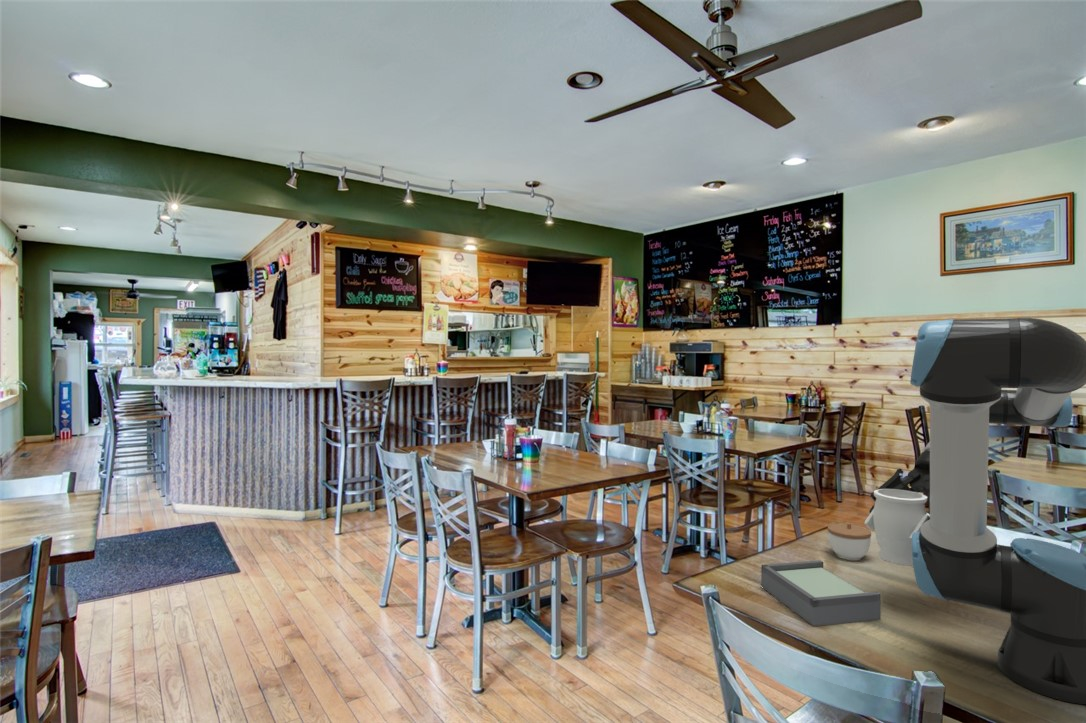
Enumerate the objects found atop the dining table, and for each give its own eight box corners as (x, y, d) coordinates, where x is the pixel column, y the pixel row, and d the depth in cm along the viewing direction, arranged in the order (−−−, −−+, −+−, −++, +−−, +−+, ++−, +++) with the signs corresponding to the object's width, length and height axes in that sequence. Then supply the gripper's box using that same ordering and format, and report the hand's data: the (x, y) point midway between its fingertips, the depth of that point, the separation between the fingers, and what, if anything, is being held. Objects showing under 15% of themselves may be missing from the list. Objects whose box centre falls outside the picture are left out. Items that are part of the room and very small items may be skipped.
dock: (880, 619, 123) (880, 594, 123) (813, 626, 120) (813, 600, 120) (820, 581, 143) (820, 560, 143) (761, 587, 140) (761, 564, 140)
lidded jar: (821, 556, 160) (821, 523, 160) (836, 547, 168) (836, 515, 167) (862, 566, 152) (863, 532, 152) (876, 556, 160) (876, 523, 159)
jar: (936, 569, 123) (936, 500, 123) (883, 566, 125) (883, 498, 125) (914, 553, 134) (915, 489, 133) (866, 550, 136) (866, 487, 135)
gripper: (1001, 480, 124) (950, 562, 118) (901, 461, 145) (855, 529, 140) (984, 458, 122) (932, 539, 117) (886, 442, 143) (838, 510, 138)
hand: (890, 534), depth 128 cm, fingers closed on jar, 10 cm apart
